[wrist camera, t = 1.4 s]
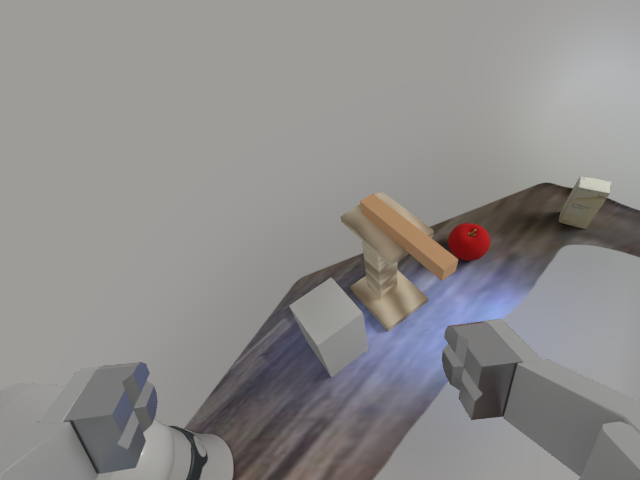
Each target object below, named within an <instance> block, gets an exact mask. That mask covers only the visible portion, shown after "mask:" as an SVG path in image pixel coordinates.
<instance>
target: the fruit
mask: <svg viewBox="0 0 640 480" xmlns="http://www.w3.org/2000/svg"><path fill="white" fill-rule="evenodd" d="M448 244H449V248H450V250H451V252H452V253H453V254H454V255H455V256H456V257H457V258H459V259H462V260H465V261H471V260H477V259H479V258H481V257H482V256H483V255H484V254H486V252H487V251H488V249H489V246H490V239H489V235H488V233H487V232H486V230H485V229H484V228H483V227H481V226H479V225H476V224H469V223H465V224H460V225H458V226H457V227H455V228H454V229H453V231H452V232H451V233H450V235H449V239H448Z"/></svg>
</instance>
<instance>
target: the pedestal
mask: <svg viewBox="0 0 640 480" xmlns="http://www.w3.org/2000/svg"><path fill="white" fill-rule="evenodd" d="M289 307H290V309H291V311H292V313H293V315H294V317H295V319H296V321H297V323H298V325H299V327H300V329H301V331H302V333H303V335H304V337H305V339H306V341H307V343H308V344H309V346H310V347H311V349H312V350H313V352H314V353H315V354H316V356H317V357H318V359H319V360H320V362H321V363H322V365H323V366H324V367H325V369H326V370H327V372H328V373H329V375H330V376H331V378H332V377H333V376H334V375H336V374H337V373H338V372H340V371H341V370H342V369H344V368H345V367H346V366H348V365H349V364H350V363H351V362H353V361H354V360H355V359H357V358H358V357H359V356H361V355H362V354H363V353H365V352H366V351H367V350H368V349H369V348H368V342H367V336H366V330H365V324H364V317H363V313H362V311H361V310H360V309H359V308H358V307H357V306H356V305H355V303H354V302H353V301H352V300H351V299H350V298H349V297H348V296H347V294H346V293H345V292H344V291H343V290H342V289H341V288H340V287H339V285H338V284H337V283H336V282H335V281H334V280H333V279H332V277H331V278H329V279H328V280H327V281H325V282H324V283H322V284H321V285H319V286H318V287H316V288H315V289H313V290H312V291H310V292H309V293H307V294H306V295H304V296H303V297H301V298H300V299H298V300H297V301H295V302H294V303H292V304H291V305H289Z"/></svg>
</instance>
